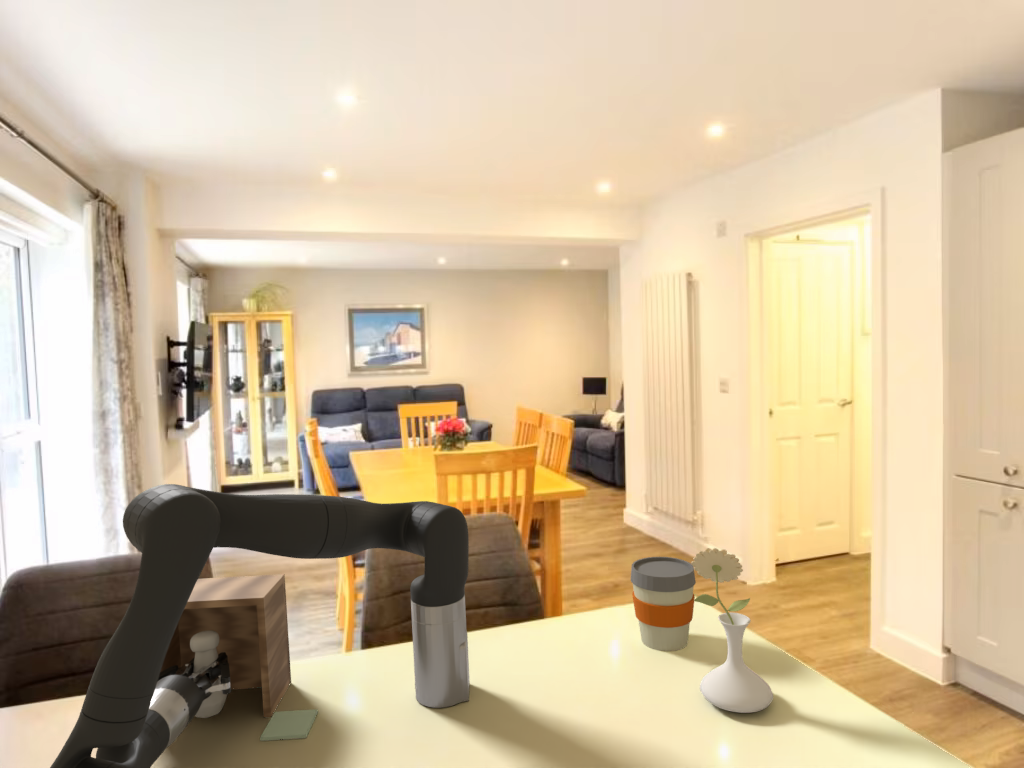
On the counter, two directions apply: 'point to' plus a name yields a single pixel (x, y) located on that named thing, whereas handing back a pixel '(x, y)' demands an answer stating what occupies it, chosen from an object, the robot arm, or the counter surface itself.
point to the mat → (289, 725)
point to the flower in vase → (730, 643)
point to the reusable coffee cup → (663, 601)
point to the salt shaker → (204, 656)
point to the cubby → (240, 631)
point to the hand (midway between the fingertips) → (212, 658)
